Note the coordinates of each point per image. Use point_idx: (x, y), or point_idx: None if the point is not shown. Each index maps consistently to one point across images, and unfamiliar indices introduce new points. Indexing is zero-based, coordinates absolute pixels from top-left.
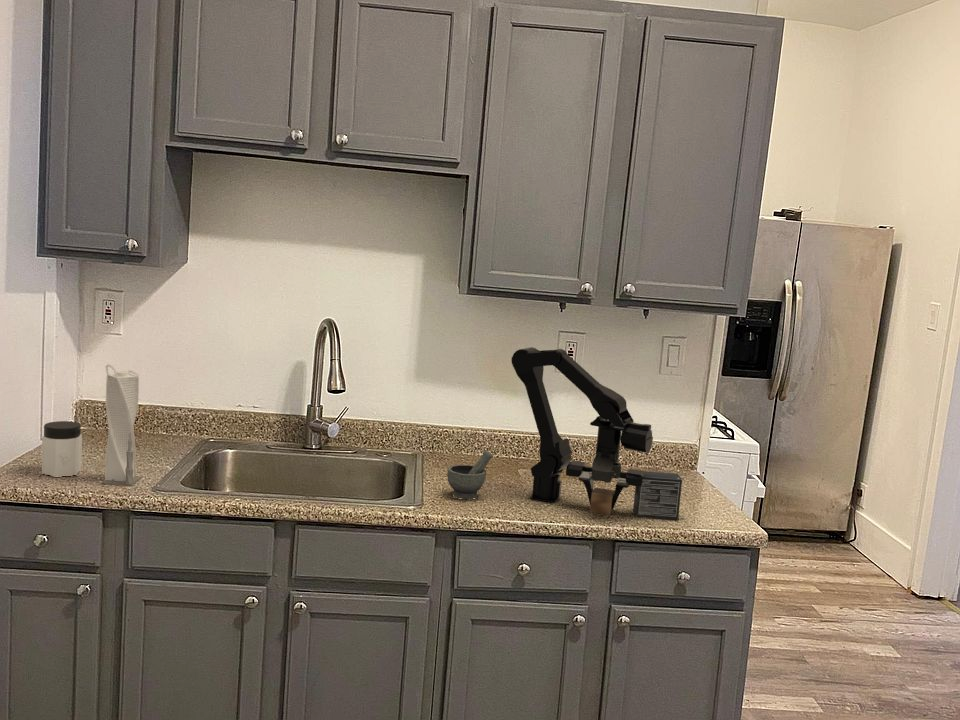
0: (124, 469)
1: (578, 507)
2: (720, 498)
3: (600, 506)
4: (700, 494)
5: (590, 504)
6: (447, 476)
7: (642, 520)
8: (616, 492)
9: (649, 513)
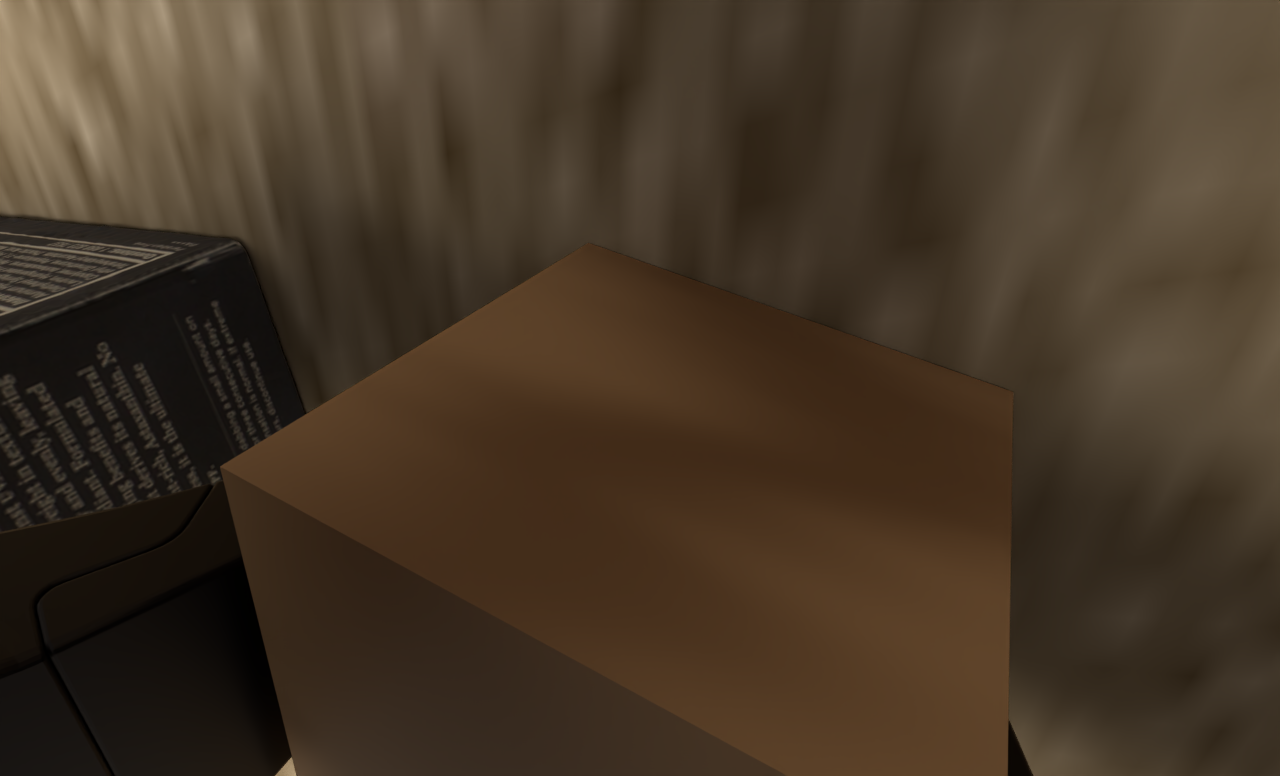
0: None
1: (1226, 668)
2: None
3: (732, 382)
4: None
5: None
6: None
7: (141, 88)
8: (87, 585)
9: (54, 244)
